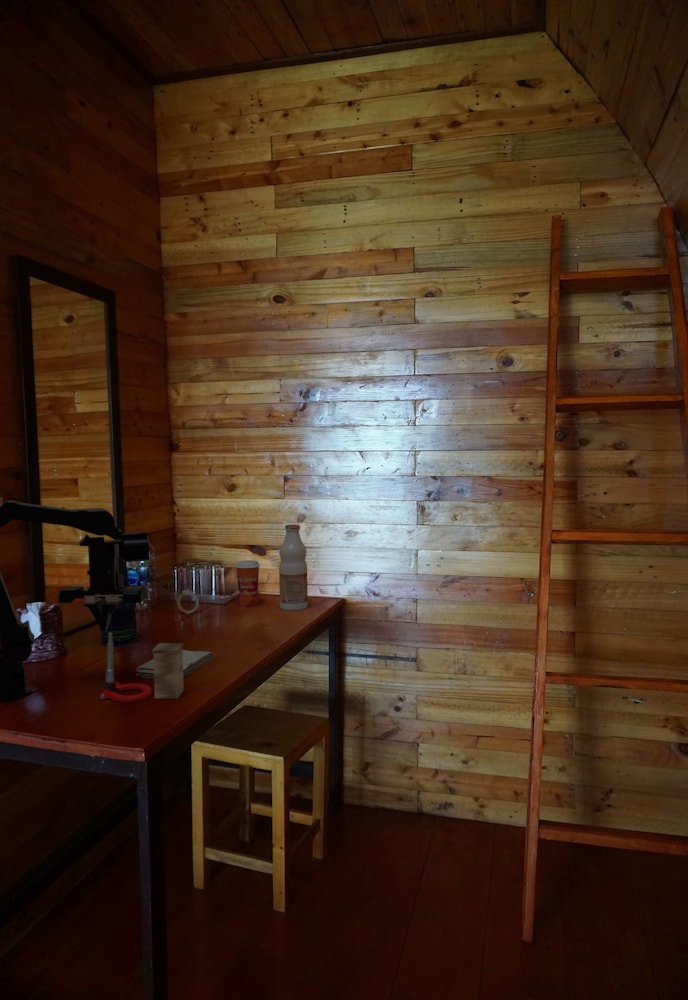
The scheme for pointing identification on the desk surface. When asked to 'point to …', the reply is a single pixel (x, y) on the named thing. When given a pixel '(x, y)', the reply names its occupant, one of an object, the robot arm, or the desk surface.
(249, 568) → the coffee cup
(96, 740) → the desk surface
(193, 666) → the washcloth
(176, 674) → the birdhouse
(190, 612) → the ring
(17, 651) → the robot arm
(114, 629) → the storage jar
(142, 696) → the tow hook
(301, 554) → the fruit juice
